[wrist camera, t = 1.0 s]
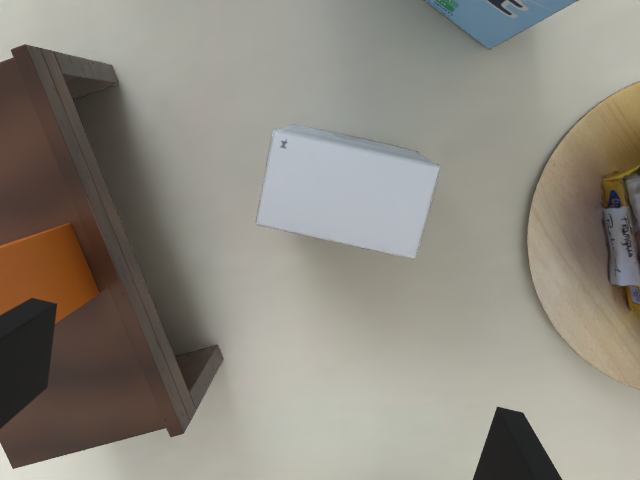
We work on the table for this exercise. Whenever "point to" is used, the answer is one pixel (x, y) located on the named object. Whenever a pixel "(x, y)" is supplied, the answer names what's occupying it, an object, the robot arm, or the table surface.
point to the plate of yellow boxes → (593, 237)
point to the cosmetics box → (347, 190)
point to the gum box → (497, 16)
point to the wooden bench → (105, 265)
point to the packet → (46, 271)
